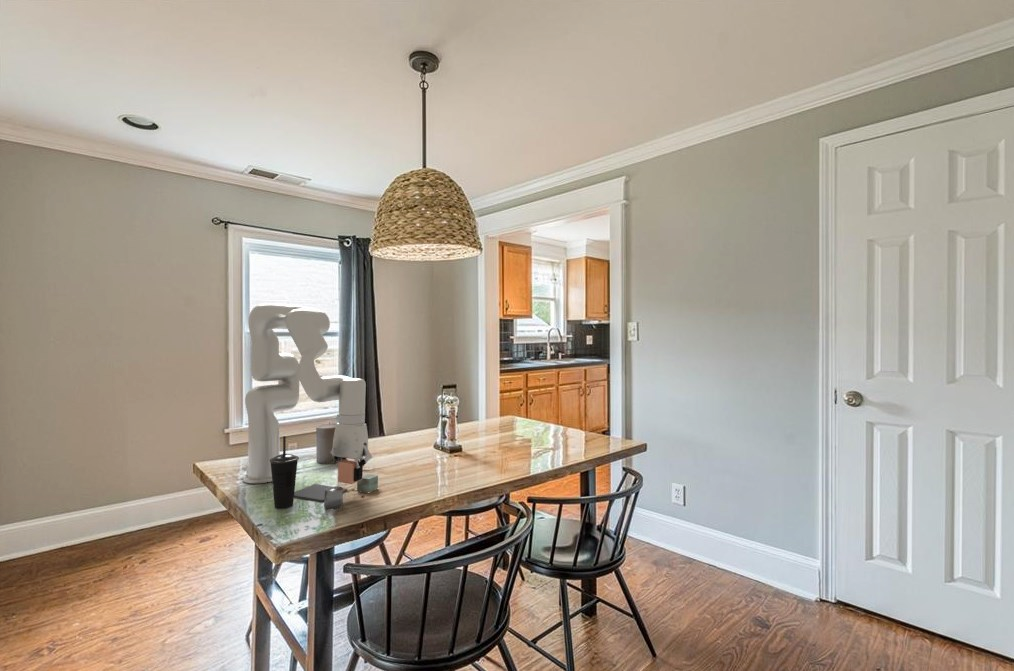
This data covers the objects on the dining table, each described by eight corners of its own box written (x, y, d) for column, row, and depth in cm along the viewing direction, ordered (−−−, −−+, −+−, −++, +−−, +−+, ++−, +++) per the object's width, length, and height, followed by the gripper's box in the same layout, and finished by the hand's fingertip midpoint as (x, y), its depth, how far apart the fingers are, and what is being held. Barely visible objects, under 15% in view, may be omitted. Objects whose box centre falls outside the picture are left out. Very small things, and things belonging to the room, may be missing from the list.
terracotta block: (337, 481, 145) (338, 461, 145) (349, 477, 150) (349, 457, 150) (351, 484, 144) (352, 464, 144) (362, 479, 148) (362, 460, 148)
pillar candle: (346, 457, 193) (346, 420, 193) (335, 464, 183) (335, 424, 183) (323, 457, 194) (323, 419, 194) (311, 463, 184) (311, 424, 184)
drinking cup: (302, 501, 143) (303, 433, 143) (292, 510, 135) (292, 439, 135) (276, 501, 143) (276, 433, 143) (264, 510, 135) (264, 439, 135)
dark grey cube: (320, 508, 138) (320, 490, 138) (332, 502, 142) (332, 485, 142) (334, 510, 136) (334, 492, 136) (346, 504, 141) (346, 487, 141)
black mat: (288, 496, 147) (288, 494, 147) (314, 485, 157) (314, 483, 157) (322, 502, 142) (322, 500, 142) (347, 490, 153) (347, 488, 153)
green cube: (357, 491, 152) (357, 477, 152) (366, 487, 156) (366, 473, 156) (369, 493, 151) (369, 479, 151) (377, 489, 155) (377, 475, 155)
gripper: (320, 418, 146) (319, 478, 146) (367, 424, 140) (365, 486, 140) (337, 414, 153) (336, 471, 153) (382, 419, 147) (381, 479, 147)
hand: (350, 478), depth 147 cm, fingers closed on terracotta block, 5 cm apart
